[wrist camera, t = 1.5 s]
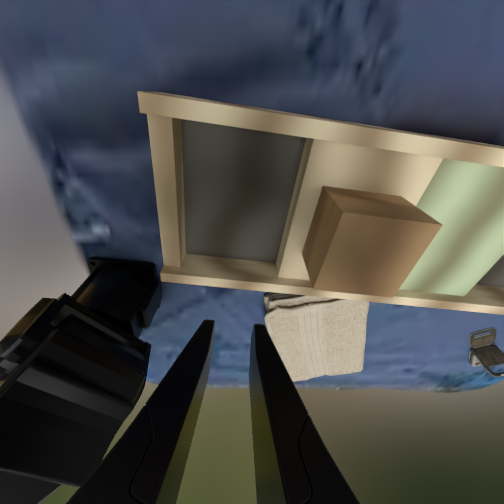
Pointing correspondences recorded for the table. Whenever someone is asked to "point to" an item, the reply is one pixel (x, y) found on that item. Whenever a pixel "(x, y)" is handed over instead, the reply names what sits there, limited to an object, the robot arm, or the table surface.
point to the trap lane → (316, 198)
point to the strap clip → (485, 351)
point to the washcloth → (317, 333)
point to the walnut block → (365, 241)
